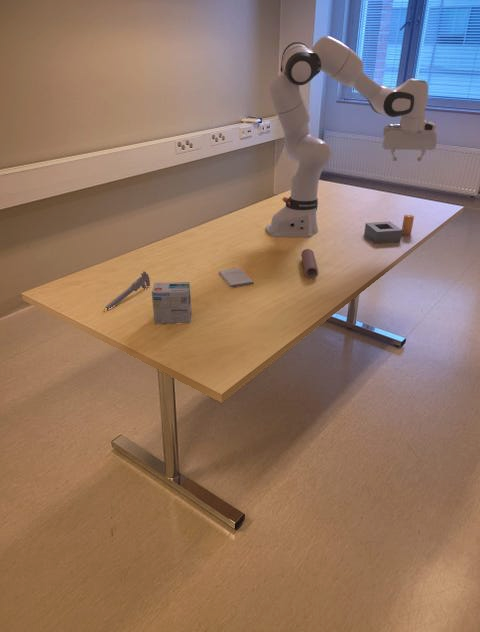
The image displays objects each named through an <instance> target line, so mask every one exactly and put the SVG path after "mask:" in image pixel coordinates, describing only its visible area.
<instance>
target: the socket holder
mask: <svg viewBox="0 0 480 632" xmlns="http://www.w3.org/2000/svg"><path fill="white" fill-rule="evenodd" d="M364 236H366V238H368V239H369V240H371V241H372V242H373V243H374V244H375V245H376V244H377V245H378V244H390V243H400V242H401V241H402V240H401V239H402V236H403V235H402V228H400V227H398V226H397V225H396V224H394V223H393V222H391V221H377V222H375V221H374V222H365V226H364Z"/></svg>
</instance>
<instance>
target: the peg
mask: <svg viewBox="0 0 480 632" xmlns="http://www.w3.org/2000/svg"><path fill="white" fill-rule="evenodd" d="M402 220H403V222H402V226H401V230H402V235H401V236H403V237H411V235H412V231H413V230H412V229H413V224H414V220H415V216H414V215H413V214H405V215H403V219H402Z"/></svg>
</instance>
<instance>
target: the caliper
mask: <svg viewBox="0 0 480 632" xmlns="http://www.w3.org/2000/svg"><path fill="white" fill-rule="evenodd" d="M140 275H141V276H140V277H139V278H137V279H135V281H134V282H132V283H131V285H130V286H129V287H128V288H127V289H126V290H124V291H123V292H122V293H121V294H119V295H118V296H117V297H116V298H114V299H113V300H112V301H110V302H109V303H108V304H107V305H105V308H107V309H109V308H111V307H113V306H114V305H116V304H117V305H119V303H121V302H122V301H124V300H125V299H126V298H127V297H128V296H129V295H130V294H132V293H133V292H134V291H135V292H137V291H138V290H140V288H142V289H143V288H144V289H143V290H145V288H146V289H147V286H150V287H151V280H150V276H149V274H148V273H147V271H143V272H141V273H140ZM117 305H116V306H117ZM113 308H114V307H113Z"/></svg>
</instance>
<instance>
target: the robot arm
mask: <svg viewBox="0 0 480 632" xmlns="http://www.w3.org/2000/svg"><path fill="white" fill-rule="evenodd" d="M281 55H282V56H281V63H280V64H281V66H280V72H281V74H280V75H278V76H276V77H275V78H274V79H272V80H271V82H270V84H269V94H270V98H271V100H272V101H271V102H272V104H273V108H274V110H275V112H276V115H277V118H278V121H279V123H280V125H281V128H282V130H283V135H284V142H283V143H284V144H283V149H284V152H285V154H286V155H287V156H288V158H290V159H291V160H292V161H295V162H296V163H297V162H298V167H297V170H296V173H295V174H294V175H293V176H292V177H291V182H290V184H291V185H290V196H289V197H286V196H284V197H282V199H281V200H282V201H283V202H284V203H285V206H283V208H281V209H280V210H278V211H276V212H275V213H274V214H273V216H272V218H271V223H270V224H266V226H265V230H266V231H265V232H266V233H268V234H269V235H270V236H271V237H274V238H310V237H312V236H313V235H315V234H317V233H318V232H319V228H318V222H317V221H318V220H317V211H318V204H319V203H318V202H319V201H318V200H319V199H318V189H319V182H320V177H321V174H322V171H323V169H324V168H325V166H327V165H328V164H329V162H330V160H331V159H332V148H331V146H330V145H329V144H328V143H327V142H325V141H324V140H323V139H321V138H317V137H315V136H313V135H312V134H311V132H310V129H309V123H310V119H311V118H310V114H309V112H308V111H309V110H308V109H307V105H306V103H305V100H304V97H303V96H302V93H301V89H300V86H304V85H306V84H308V83H310V81H312V80H313V79H314V78H315V77H316V76H317V75H318V74H320V72H323V73H325V74H326V75H327V76H328V77H330V78H331V79H332V80H334V81H336V82H337V83H339V84H341V85H343V86H345V87H350V88H352V89H353V90H355V91H356V92H358V93H359V94H360V95H361V96H362V97H364V98H365V99H366V100H367V102H368V103H369V106H370V108H371V109H372V110H373V112H375V113H376V114H379V115H384V116H387V117H390V118H396V117H400V122H399V124H387V125H386V126H384V128H383V131H382V135H383V139H382V148H383V149H384V150H390V154H391V155H392V161H393V162H397V161H398V156H397V155H395V152H396V150H399V151H400V150H401V151H403V150H404V151H407V150H408V151H409V150H410V151H411V150H412V151H414V150H418V151H421V153H420V155H416V156H417V157H416V162H422V158H423V156H424V155H425V154H426V151H433V150H435V149H436V147H437V141H438V139H437V136H438V135H437V132H436V127H437V126H436V124H435V123H434V122H432V121H429V120H427V119H425V118H426V112H425V111H426V107H427V104H428V98H429V97H428V96H429V84H428V83H427V81H426V80H422V79H418V78H413V77H412V78H408V79H407V80H406V81H405V82H404V83H402V84H400V85H399V86H396V87H394V88H392V87H390V86H387V85H380V84H378V83H376V81H374V80H373V79H372V78H370V77H369V75H367V74H366V73H365V72H364V63H363V61H362V59H361V57H360V56H359V55H358V54H357V53H356V52H355V51H354V50H353V49H351V48H350V47H349V46H347V45H346V44H345V43H343V42H342V41H340V40H338V39H336V38H334V37H332V36H329V35H327V36H326V35H325V36H322V37H320V38H319V39H318V40H316V42H315V43H314V45H313V46H312V47H308V46H307V45H306V44H305V43H303V42H299V41H295V42H291V43H289V44H288V45H287V46H286V47H285V49H284V50H283V53H282V54H281Z"/></svg>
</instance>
